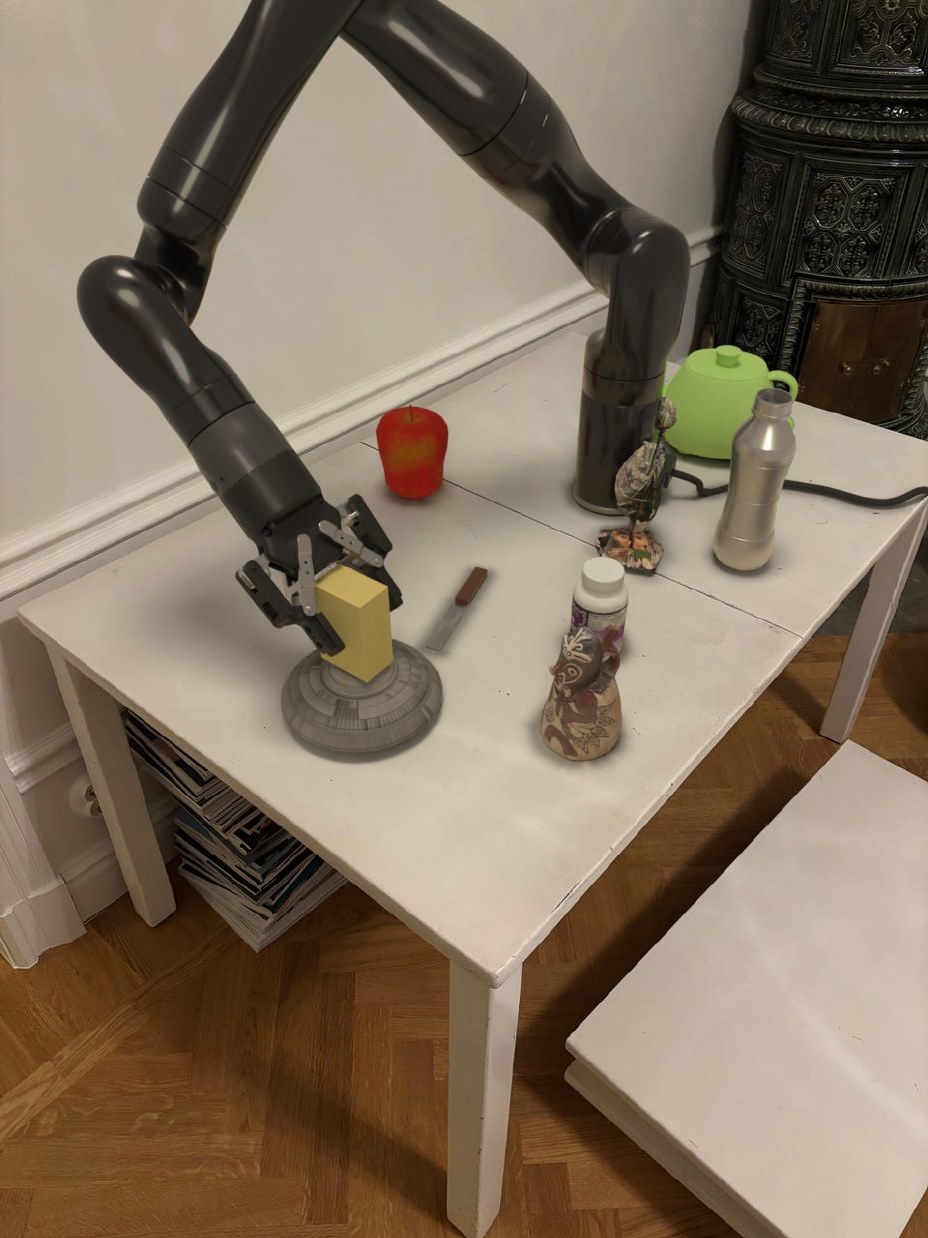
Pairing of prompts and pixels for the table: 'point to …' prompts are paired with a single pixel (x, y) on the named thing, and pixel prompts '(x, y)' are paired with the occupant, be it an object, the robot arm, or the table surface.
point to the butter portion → (356, 620)
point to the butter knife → (457, 609)
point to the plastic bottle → (756, 482)
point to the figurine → (584, 696)
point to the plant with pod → (640, 499)
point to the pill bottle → (600, 598)
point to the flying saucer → (361, 701)
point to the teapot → (717, 398)
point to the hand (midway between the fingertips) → (368, 629)
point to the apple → (412, 450)
